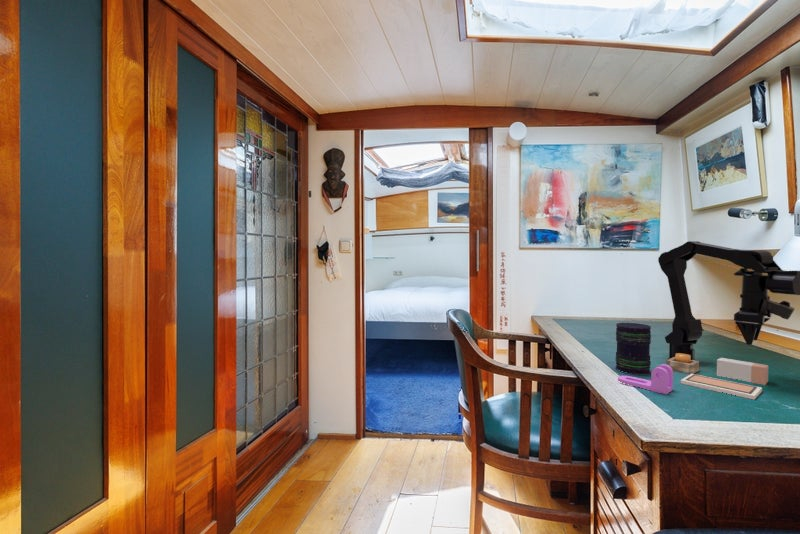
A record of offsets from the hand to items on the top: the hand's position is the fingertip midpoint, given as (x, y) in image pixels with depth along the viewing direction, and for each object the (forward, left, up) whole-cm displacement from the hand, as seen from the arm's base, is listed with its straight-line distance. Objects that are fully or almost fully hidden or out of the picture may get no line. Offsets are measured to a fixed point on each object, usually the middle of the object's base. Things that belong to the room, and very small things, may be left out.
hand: (752, 342), depth 114 cm
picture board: (-4, -17, -11) cm, 21 cm away
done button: (-16, -6, -9) cm, 19 cm away
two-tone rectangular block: (-2, -2, -11) cm, 12 cm away
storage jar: (-26, -19, -12) cm, 34 cm away
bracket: (-18, -33, -12) cm, 39 cm away
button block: (-16, -6, -11) cm, 20 cm away
